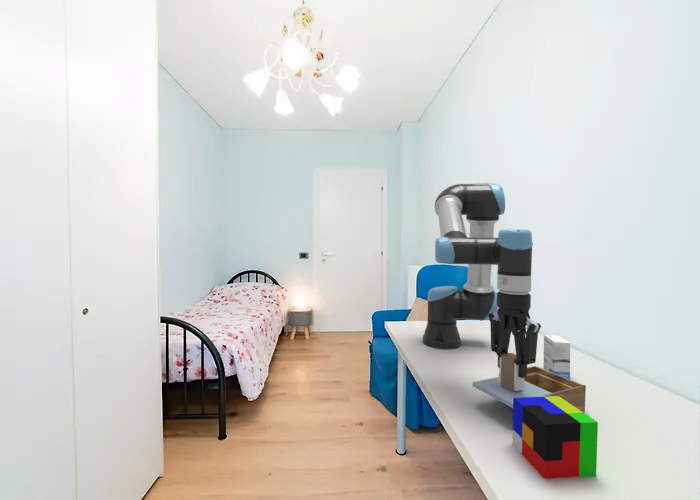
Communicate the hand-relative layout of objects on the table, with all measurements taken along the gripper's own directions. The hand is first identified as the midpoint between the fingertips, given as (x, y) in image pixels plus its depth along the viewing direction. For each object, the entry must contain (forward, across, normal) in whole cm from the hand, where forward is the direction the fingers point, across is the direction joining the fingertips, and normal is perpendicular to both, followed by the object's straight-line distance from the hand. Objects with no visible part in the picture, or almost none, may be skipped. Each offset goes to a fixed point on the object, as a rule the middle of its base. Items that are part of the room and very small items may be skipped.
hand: (511, 385), depth 82 cm
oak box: (+7, 0, +10) cm, 12 cm away
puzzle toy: (+7, +16, -8) cm, 19 cm away
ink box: (+7, -11, +32) cm, 35 cm away
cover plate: (+2, 0, 0) cm, 2 cm away
